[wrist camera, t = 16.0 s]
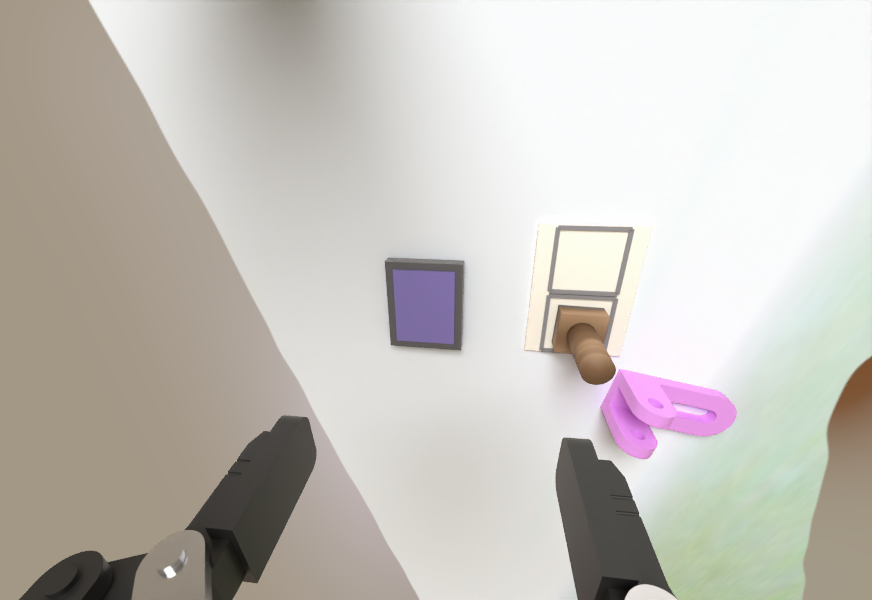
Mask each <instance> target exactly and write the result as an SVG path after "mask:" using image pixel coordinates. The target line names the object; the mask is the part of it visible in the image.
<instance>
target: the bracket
mask: <svg viewBox="0 0 872 600" xmlns="http://www.w3.org/2000/svg"><path fill="white" fill-rule="evenodd" d="M673 402H675V403H680V404H684V405H689V406H693V407H698V408H702V409H707V410H710V411H709V412H708V413H706V414H704V415H694V414H690V413H685V412H681V411H677V410H676V409H675V407H674V406H673V404H672V403H673ZM601 409H602V411H603V414H604V416H605V419H606V421H607V423H608V426H609V428H610V431H611V433H612V436H613V438H614V440H615V442H616V444H617V445H618V446H619V447H620V448H621V449H622V450H623V451H624V452H626V453H627V454H629V455H631V456H633V457H636V458H639V459H647V458H649V457H650V456H651V455H652V453H653V451H654V450H655V448H656V447H657V440H656V438H655V436H654V434H653V432H652V431H651V429H650V427H649V425H650V426H653V427H656V428H661V429H669V430H674V431H678V432H683V433H687V434H691V435H696V436H710V435H715V434H718V433H720V432H722V431H724V430H726V429H727V428H729V427H730V426H731V425H732V424H733V422H734V421H735V418H736V414H737V412H736V408H735V406H734V405H733V404H732V403H731V401H730V400H729V399H728V398H727V397H726V396H725V395H724V394H722V393H721V392H719V391H716V390H712V389H708V388H703V387H699V386H694V385H690V384H685V383H681V382H676V381H672V380H667V379H663V378H658V377H654V376H649V375H645V374H640V373H636V372H631V371H627V370H622V369H619V371H618V373H617V375H616V377H615V379H614V381H613V383H612V385H611V387H610V389H609V391H608V393H607V395H606V397H605V399H604V401H603V403H602V405H601Z"/></svg>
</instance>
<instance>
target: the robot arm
mask: <svg viewBox="0 0 872 600" xmlns="http://www.w3.org/2000/svg"><path fill="white" fill-rule="evenodd" d="M315 461H316V447H315V443H314V439H313V435H312V431H311V427H310V422H309V420H308V418H307V417H298V416H282V417H281V418H280V419H279V420H278V421H277V423H276V424H275V425H274V427H273V428H272V430H271V432H267V431H264V432H263V433H261V434H260V435H259V436H258V437H256V438H255V439H254V440H253V441H251V442H250V443H249V444H248V445H247V447H246V448H245V449H244V451H243V452H242V453H241V455H240V456H239V458H238V460H237V462H235V463H234V464H233V466H232V467H231V468H230V470H229V471H228V475H225V477H224V478H223V479H222V481H221V482H220V483H219V485H218V486H217V488H216V489H215V490H214V492H213V493H212V495H211V496H210V497H209V499H208V500H207V501H206V503H205V504H204V505H203V507H202V508H201V510H200V511H199V512H198V514H197V515H196V516H195V518H194V519H193V521H192V522H191V523H190V524H189V526H188V527H187V528H186V529H185V530H184V531H180V532H178V533H175V534H172V535H171V536H169V537H167V538H165V539H164V540H162V541H161V542H160V543H158V544H157V545H156V546H155V547H154V548H153V549H152V550H151V551H150V552H149V553H146V554H142V555H138V556H133V557H129V558H125V559H120V560H116V561H111V562H107V561H106V560H105V559H104V558H103V557H102V555H101V554H100V553H98V552H96V551H85V552H80V553H78V554H75V555H72V556H70V557H68V558H66V559H64V560H62V561H61V562H59V563H58V564H56V565H54V566H53V567H52V568H50V569H49V570H48V571H47V572H46V573H44V574H43V575H42V576H41V577H40V578H39V579H38V580H37V581H36V582H35V583H34V584H33V585H32V586H31V587H30V588H29V590H28V591H27V592H26V593H25V594H24V595H23V596H22V597H21V598H20V599H19V600H236V598H235V594H236V592H237V591H238V589H239V587H240V585H241V583H242V581H244V582H252V583H258V581H259V579H260V577H261V574H262V572H263V570H264V568H265V566H266V564H267V562H268V560H269V558H270V556H271V554H272V552H273V550H274V548H275V546H276V544H277V542H278V540H279V538H280V536H281V534H282V532H283V530H284V528H285V526H286V523H287V521H288V519H289V517H290V515H291V513H292V511H293V509H294V507H295V505H296V503H297V501H298V499H299V497H300V495H301V493H302V491H303V489H304V487H305V484H306V483H307V481H308V478H309V476H310V474H311V472H312V470H313V468H314V465H315ZM556 491H557V497H558V502H559V507H560V512H561V517H562V522H563V527H564V532H565V537H566V542H567V547H568V552H569V557H570V562H571V567H572V572H573V577H574V583H575V588H576V593H577V598H578V600H678V599H677V598H676V597H675V596H674V594H673V593H672V591H671V589H670V588H669V586H668V584H667V581H666V579H665V577H664V574H663V572H662V569H661V567H660V564H659V562H658V559H657V557H656V554H655V552H654V549H653V547H652V544H651V542H650V539H649V537H648V534H647V532H646V529H645V527H644V524H643V522H642V519H641V517H639V512H638V509H637V507H636V504H635V502H634V501H633V498H632V497H633V496H632V494H631V491H630V489H629V486H628V484H627V481H626V479H625V477H624V476H623V475H622V473H621V472H620V471H619V470H618V469H617V467H616V466H615V465H614V464H613V463H612V462H611V461H609V460H598V458H597V455H596V452H595V449H594V446H593V444H592V442H591V440H589V439H576V438H563V439H562V443H561V448H560V453H559V458H558V464H557V469H556Z"/></svg>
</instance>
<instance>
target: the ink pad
mask: <svg viewBox="0 0 872 600" xmlns="http://www.w3.org/2000/svg"><path fill="white" fill-rule="evenodd" d="M385 269H386V283H387V296H388V310H389V324H390V338H391V345H397V346H411V347H425V348H440V349H454V350H461V347H462V319H463V283H464V261H455V260H428V259H401V258H388V259H387V260H386V261H385Z"/></svg>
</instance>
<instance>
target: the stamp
mask: <svg viewBox="0 0 872 600" xmlns="http://www.w3.org/2000/svg"><path fill="white" fill-rule="evenodd" d="M609 319H610V316H609V315H608V313H607V312H606V310H605V309H604V308H597V307H583V306H570V305H558V310H557V315H556V320H555V326H554V331H553V337H552V345H553V349H554V352H559V353H570V354H573V356H574V358H575V361H576V364H577V366H578V369H579V372H580V374H581V377H582V378H583V380H584V381H586V382H587V383H590V384H594V385H599V384H604V383H606V382H608V381H610V380H611V379H612V378H613V376H614V375H615V371H616V369H615V365H614V363H613V362H612V360H611V358H610V356H609V354H608V352H607V350H606V349H605V347H604V345H603V343H604V339H605V335H606V331H607V327H608V323H609Z"/></svg>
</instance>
